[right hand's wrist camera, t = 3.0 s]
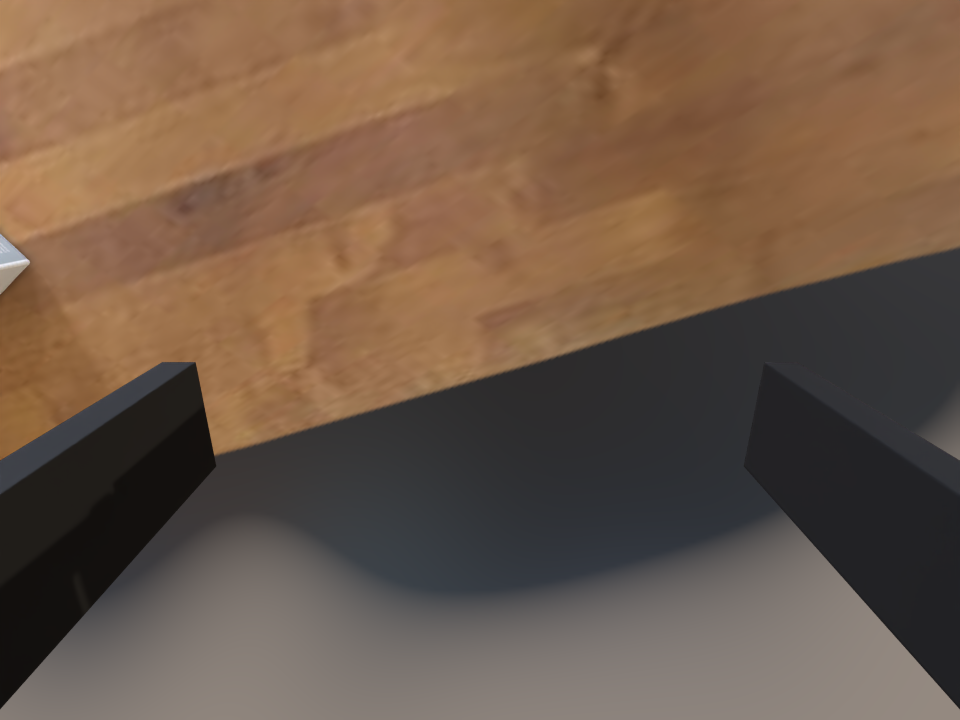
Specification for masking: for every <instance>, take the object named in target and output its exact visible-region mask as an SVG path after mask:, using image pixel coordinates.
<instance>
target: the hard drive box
mask: <svg viewBox="0 0 960 720" xmlns="http://www.w3.org/2000/svg"><path fill="white" fill-rule="evenodd" d="M29 264H30V261H29V260H28V259H27V258H26V257H25V256H24V255H23V254H21V253H20V252H19V251H18V250H17V249H16V248H15V247H14V246H13V245H12V244H11V243H10V242H8V241H7V240H6V239H5V238H4V237H3V236H2V235H1V234H0V294H1V293H2V292H3V291H4V290H5V289H6V288H7V287H8V286H9V285H10V284H11V283H12V281H13V280H14V279H15V278H16V277H17V276H18V275H19V274H20V273H21V272H22V271H23V270H24V269H25V268H26V267H27V266H28V265H29Z"/></svg>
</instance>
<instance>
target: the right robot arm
mask: <svg viewBox="0 0 960 720" xmlns="http://www.w3.org/2000/svg"><path fill="white" fill-rule="evenodd" d="M215 467H216V463H215V458H214V453H213V448H212V443H211V438H210V433H209V428H208V423H207V418H206V413H205V408H204V403H203V397H202V392H201V387H200V382H199V377H198V372H197V367H196V362H162V363H160V364H159V365H157V366H155V367H154V368H152V369H150V370H149V371H147V372H145V373H144V374H142V375H141V376H139V377H137V378H136V379H134V380H132V381H131V382H129V383H127V384H126V385H124V386H122V387H121V388H119V389H117V390H116V391H114V392H112V393H111V394H109V395H108V396H106V397H104V398H103V399H101V400H99V401H98V402H96V403H94V404H93V405H91V406H89V407H88V408H86V409H84V410H83V411H81V412H80V413H78V414H76V415H75V416H73V417H71V418H70V419H68V420H66V421H65V422H63V423H61V424H60V425H58V426H56V427H55V428H53V429H52V430H50V431H48V432H47V433H45V434H43V435H42V436H40V437H38V438H37V439H35V440H33V441H32V442H30V443H28V444H27V445H25V446H23V447H22V448H20V449H19V450H17V451H15V452H14V453H12V454H10V455H9V456H7V457H5V458H4V459H2V460H0V709H1V708H2V707H3V705H4V704H5V703H6V702H7V701H8V700H9V699H10V698H11V696H12V695H13V694H14V693H15V692H16V691H17V690H18V689H19V687H20V686H21V685H22V684H23V683H24V682H25V681H26V680H27V678H28V677H29V676H30V675H31V674H32V673H33V672H34V671H35V669H36V668H37V667H38V666H39V665H40V664H41V663H42V662H43V660H44V659H45V658H46V657H47V656H48V655H49V654H50V653H51V651H52V650H53V649H54V648H55V647H56V646H57V645H58V644H59V642H60V641H61V640H62V639H63V638H64V637H65V636H66V635H67V633H68V632H69V631H70V630H71V629H72V628H73V627H74V626H75V624H76V623H77V622H78V621H79V620H80V619H81V618H82V617H83V615H84V614H85V613H86V612H87V611H88V610H89V609H90V608H91V606H92V605H93V604H94V603H95V602H96V601H97V600H98V599H99V597H100V596H101V595H102V594H103V593H104V592H105V591H106V590H107V588H108V587H109V586H110V585H111V584H112V583H113V582H114V581H115V579H116V578H117V577H118V576H119V575H120V574H121V573H122V572H123V570H124V569H125V568H126V567H127V566H128V565H129V564H130V563H131V561H132V560H133V559H134V558H135V557H136V556H137V555H138V554H139V552H140V551H141V550H142V549H143V548H144V547H145V546H146V544H147V543H148V542H149V541H150V540H151V539H152V538H153V537H154V536H155V534H156V533H157V532H158V531H159V530H160V529H161V528H162V527H163V525H164V524H165V523H166V522H167V521H168V520H169V519H170V518H171V516H172V515H173V514H174V513H175V512H176V511H177V510H178V509H179V507H180V506H181V505H182V504H183V503H184V502H185V501H186V500H187V499H188V497H189V496H190V495H191V494H192V493H193V492H194V491H195V489H196V488H197V487H198V486H199V485H200V484H201V483H202V482H203V480H204V479H205V478H206V477H207V476H208V475H209V474H210V473H211V472H212V470H213V469H214V468H215ZM744 467H745V468H746V469H747V470H748V471H749V473H750V474H751V475H752V476H753V477H754V478H755V479H756V480H757V482H758V483H759V484H760V485H761V486H762V487H763V488H764V489H765V491H766V492H767V493H768V494H769V495H770V496H771V497H772V499H773V500H774V501H775V502H776V503H777V504H778V505H779V506H780V507H781V509H782V510H783V511H784V512H785V513H786V514H787V515H788V517H789V518H790V519H791V520H792V521H793V522H794V523H795V524H796V526H797V527H798V528H799V529H800V530H801V531H802V532H803V533H804V534H805V536H806V537H807V538H808V539H809V540H810V541H811V542H812V543H813V545H814V546H815V547H816V548H817V549H818V550H819V551H820V552H821V554H822V555H823V556H824V557H825V558H826V559H827V560H828V561H829V563H830V564H831V565H832V566H833V567H834V568H835V569H836V570H837V572H838V573H839V574H840V575H841V576H842V577H843V578H844V579H845V581H846V582H847V583H848V584H849V585H850V586H851V587H852V588H853V590H854V591H855V592H856V593H857V594H858V595H859V596H860V597H861V599H862V600H863V601H864V602H865V603H866V604H867V605H868V606H869V608H870V609H871V610H872V611H873V612H874V613H875V614H876V615H877V617H878V618H879V619H880V620H881V621H882V622H883V623H884V624H885V626H886V627H887V628H888V629H889V630H890V631H891V632H892V633H893V635H894V636H895V637H896V638H897V639H898V640H899V641H900V642H901V644H902V645H903V646H904V647H905V648H906V649H907V650H908V651H909V653H910V654H911V655H912V656H913V657H914V658H915V659H916V660H917V662H918V663H919V664H920V665H921V666H922V667H923V668H924V669H925V671H926V672H927V673H928V674H929V675H930V676H931V677H932V678H933V680H934V681H935V682H936V683H937V684H938V685H939V686H940V687H941V689H942V690H943V691H944V692H945V693H946V694H947V695H948V696H949V698H950V699H951V700H952V701H953V702H954V703H955V704H956V705H957V707H958V708H959V709H960V460H958V459H956V458H955V457H953V456H951V455H950V454H948V453H946V452H945V451H943V450H941V449H940V448H938V447H936V446H935V445H933V444H932V443H930V442H928V441H927V440H925V439H923V438H922V437H920V436H918V435H917V434H915V433H913V432H912V431H910V430H908V429H907V428H905V427H903V426H902V425H900V424H899V423H897V422H895V421H894V420H892V419H890V418H889V417H887V416H885V415H884V414H882V413H880V412H879V411H877V410H876V409H874V408H872V407H871V406H869V405H867V404H866V403H864V402H862V401H861V400H859V399H857V398H856V397H854V396H852V395H851V394H849V393H847V392H846V391H844V390H843V389H841V388H839V387H838V386H836V385H834V384H833V383H831V382H829V381H828V380H826V379H824V378H823V377H821V376H819V375H818V374H816V373H815V372H813V371H811V370H810V369H808V368H806V367H805V366H803V365H801V364H800V363H798V362H765V363H764V367H763V372H762V377H761V383H760V387H759V393H758V398H757V403H756V408H755V413H754V418H753V423H752V428H751V433H750V438H749V443H748V448H747V453H746V458H745V463H744Z"/></svg>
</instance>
